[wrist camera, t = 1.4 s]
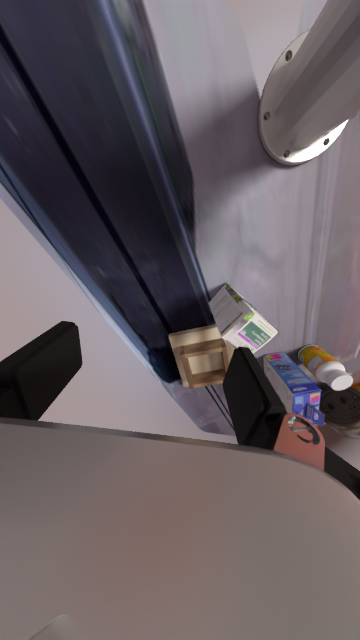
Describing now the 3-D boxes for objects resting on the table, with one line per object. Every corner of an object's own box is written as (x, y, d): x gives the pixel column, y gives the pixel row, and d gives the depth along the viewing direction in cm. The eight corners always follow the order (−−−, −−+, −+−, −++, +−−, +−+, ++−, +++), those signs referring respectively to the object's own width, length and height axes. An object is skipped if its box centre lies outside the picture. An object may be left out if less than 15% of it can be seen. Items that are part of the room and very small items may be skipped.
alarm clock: (309, 402, 48) (365, 472, 34) (300, 392, 47) (353, 461, 32) (348, 382, 45) (428, 450, 30) (339, 371, 43) (419, 437, 29)
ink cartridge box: (285, 379, 45) (327, 436, 32) (264, 383, 46) (297, 440, 33) (285, 350, 41) (334, 401, 28) (262, 354, 42) (299, 406, 29)
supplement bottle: (324, 350, 41) (363, 380, 32) (307, 364, 43) (339, 396, 34) (309, 340, 40) (345, 368, 31) (291, 355, 42) (321, 386, 33)
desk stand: (228, 321, 38) (234, 332, 33) (235, 374, 44) (241, 389, 40) (169, 333, 39) (167, 345, 35) (184, 383, 46) (184, 398, 41)
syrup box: (245, 298, 36) (282, 331, 22) (225, 318, 38) (248, 359, 24) (226, 281, 34) (252, 307, 21) (206, 303, 36) (220, 338, 23)
